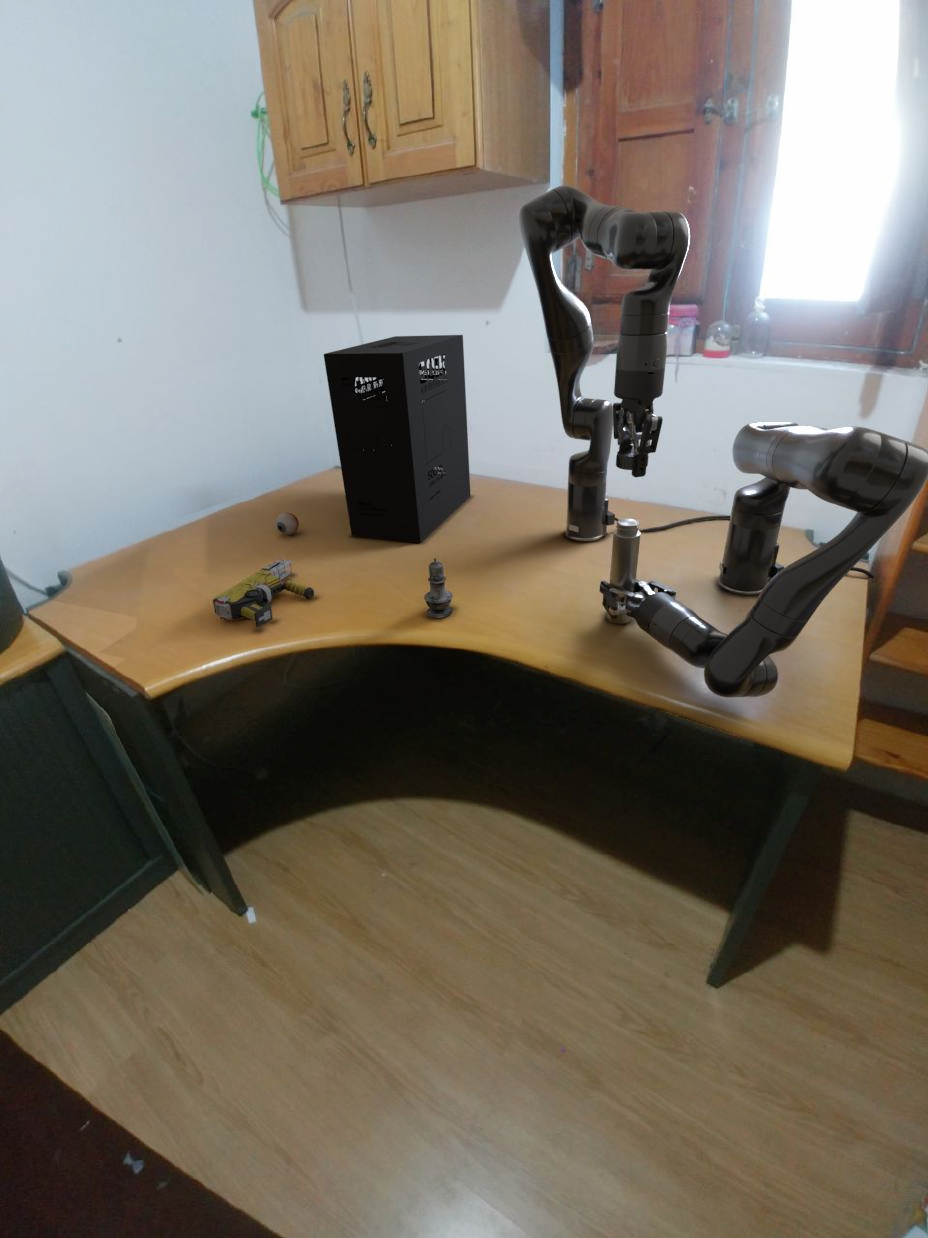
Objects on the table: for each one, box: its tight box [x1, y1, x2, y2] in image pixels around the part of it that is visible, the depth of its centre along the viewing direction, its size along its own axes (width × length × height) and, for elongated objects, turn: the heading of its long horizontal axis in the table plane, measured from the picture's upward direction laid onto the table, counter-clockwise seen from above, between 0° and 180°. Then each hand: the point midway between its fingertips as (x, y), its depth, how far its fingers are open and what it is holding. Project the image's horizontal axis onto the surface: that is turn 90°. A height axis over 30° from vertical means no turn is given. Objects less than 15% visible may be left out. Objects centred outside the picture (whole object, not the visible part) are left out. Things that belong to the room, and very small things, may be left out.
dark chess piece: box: [423, 557, 454, 619], centre depth 120 cm, size 6×6×12 cm
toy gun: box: [212, 558, 315, 628], centre depth 130 cm, size 5×24×15 cm
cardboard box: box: [323, 334, 471, 544], centre depth 162 cm, size 38×20×45 cm, turn 159°
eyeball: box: [275, 511, 300, 536], centre depth 163 cm, size 6×6×6 cm
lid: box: [615, 449, 650, 471], centre depth 102 cm, size 5×5×2 cm
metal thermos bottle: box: [606, 517, 642, 625], centre depth 113 cm, size 5×5×20 cm
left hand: (631, 471), depth 103 cm, fingers closed on lid, 5 cm apart
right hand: (614, 582), depth 116 cm, fingers closed on metal thermos bottle, 4 cm apart
